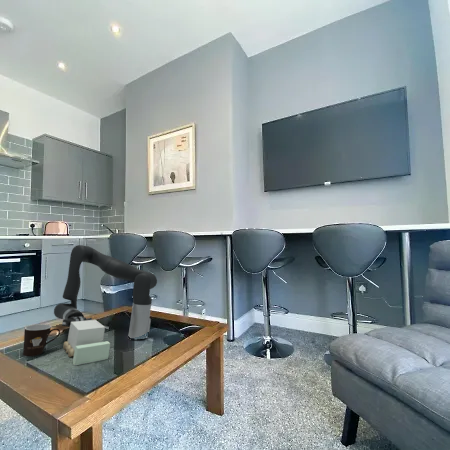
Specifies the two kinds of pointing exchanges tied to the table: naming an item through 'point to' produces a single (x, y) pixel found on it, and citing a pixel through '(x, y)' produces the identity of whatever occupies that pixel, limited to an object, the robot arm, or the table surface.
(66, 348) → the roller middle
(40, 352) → the coffee mug
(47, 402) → the table surface
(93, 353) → the block
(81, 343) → the white stacked block
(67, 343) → the roller rear
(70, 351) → the roller front
